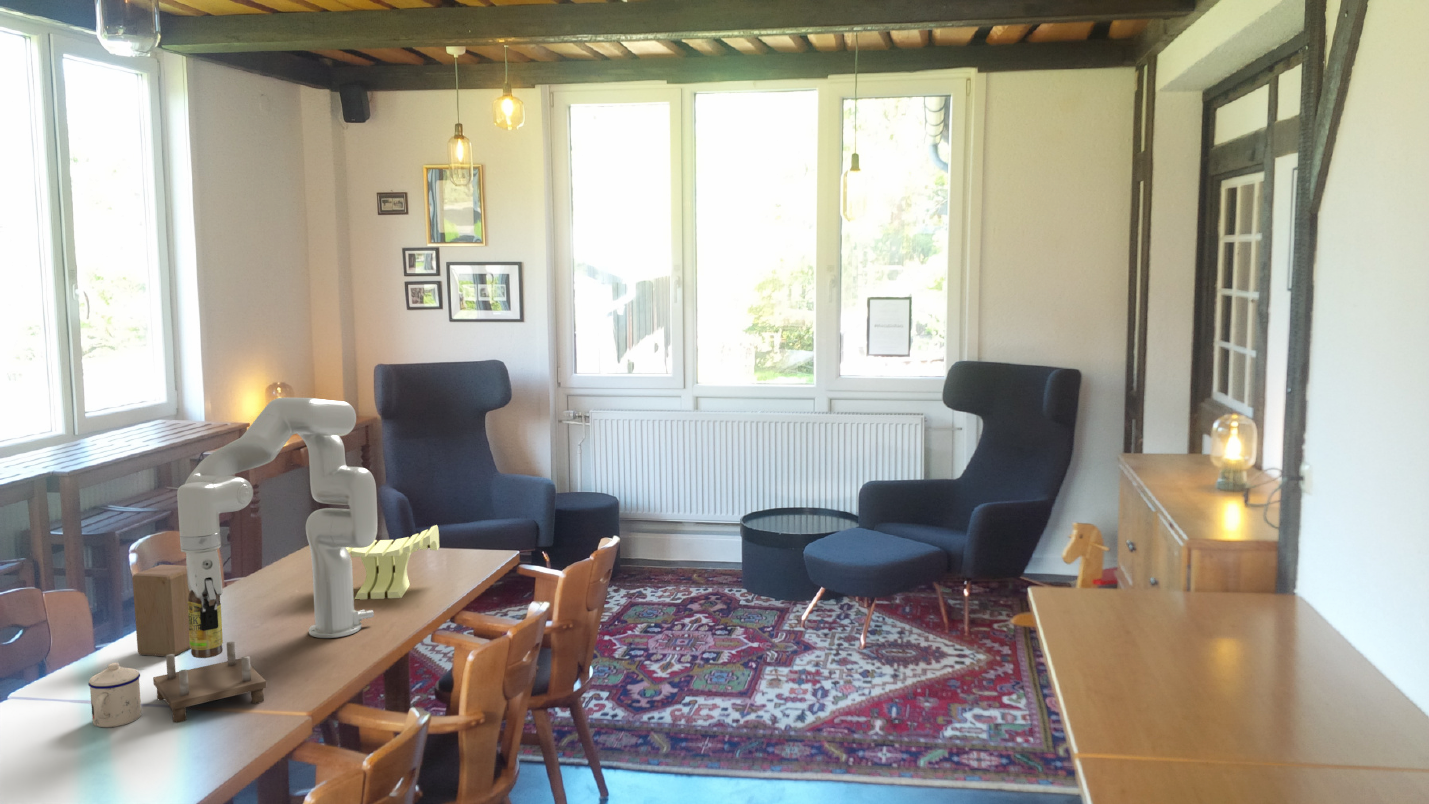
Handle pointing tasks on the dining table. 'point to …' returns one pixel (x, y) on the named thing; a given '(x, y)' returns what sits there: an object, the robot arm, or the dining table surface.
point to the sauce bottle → (203, 641)
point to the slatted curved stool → (391, 563)
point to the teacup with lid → (115, 696)
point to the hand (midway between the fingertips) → (205, 624)
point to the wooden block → (162, 610)
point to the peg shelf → (208, 683)
